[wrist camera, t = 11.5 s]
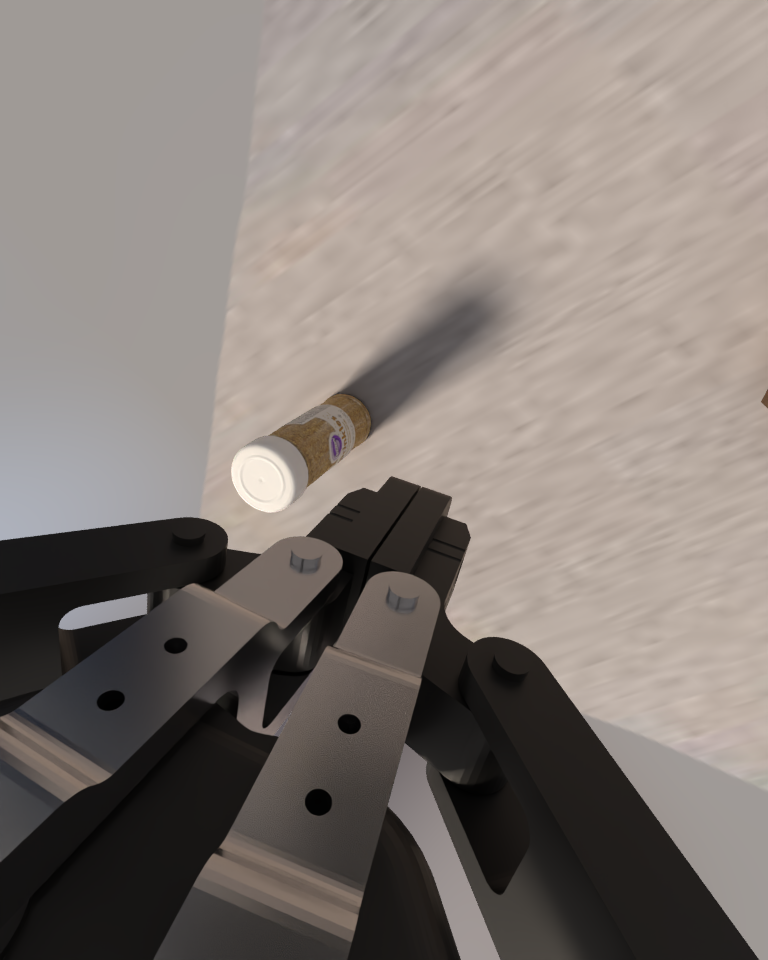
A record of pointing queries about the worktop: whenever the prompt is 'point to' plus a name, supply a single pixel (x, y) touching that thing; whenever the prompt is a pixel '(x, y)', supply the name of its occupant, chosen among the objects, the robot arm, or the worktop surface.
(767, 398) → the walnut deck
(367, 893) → the robot arm
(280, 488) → the sprinkles bottle
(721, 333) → the worktop surface
